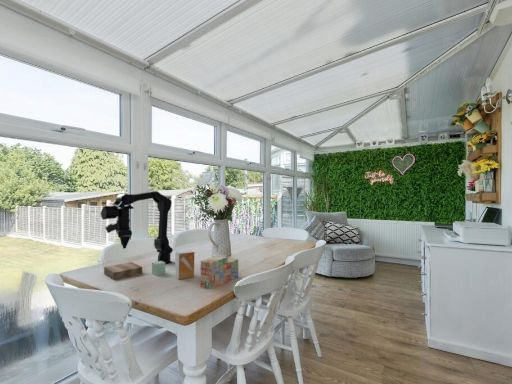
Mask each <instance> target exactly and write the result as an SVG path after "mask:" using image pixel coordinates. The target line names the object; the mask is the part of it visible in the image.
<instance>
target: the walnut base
mask: <svg viewBox="0 0 512 384" xmlns="http://www.w3.org/2000/svg"><path fill="white" fill-rule="evenodd" d="M103 274H104V275H105V276H107V277H109V278H110V279H111V280H113V281H115V280H119V279H124V278H129V277H134V275H135V276H138V275H142V274H143V266H142V265H141V266H140V265H139V264H137V263H135V262H132V261H130V262H123V263H119V264H112V265H107V266H103Z"/></svg>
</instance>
